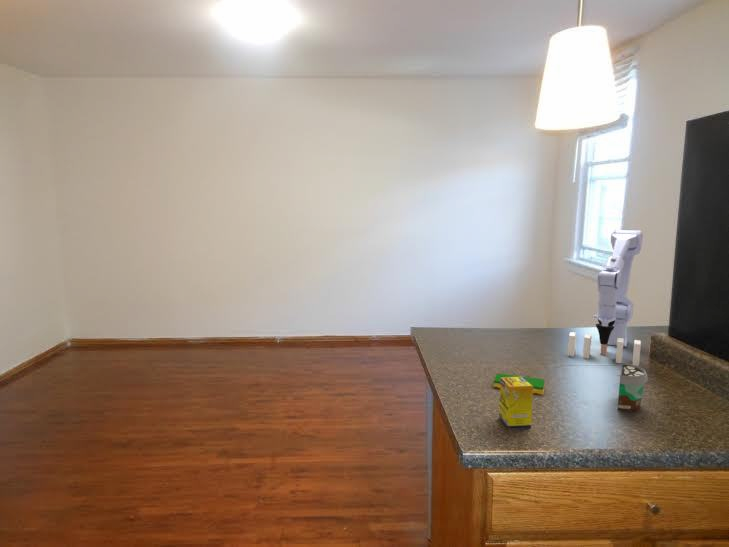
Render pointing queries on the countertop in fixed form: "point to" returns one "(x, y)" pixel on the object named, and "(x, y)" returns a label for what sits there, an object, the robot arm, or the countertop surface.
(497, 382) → the dish sponge
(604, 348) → the domino
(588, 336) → the domino
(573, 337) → the domino
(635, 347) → the domino
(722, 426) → the countertop surface
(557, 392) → the countertop surface
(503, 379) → the supplement box
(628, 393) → the food container
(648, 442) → the countertop surface
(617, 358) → the domino
